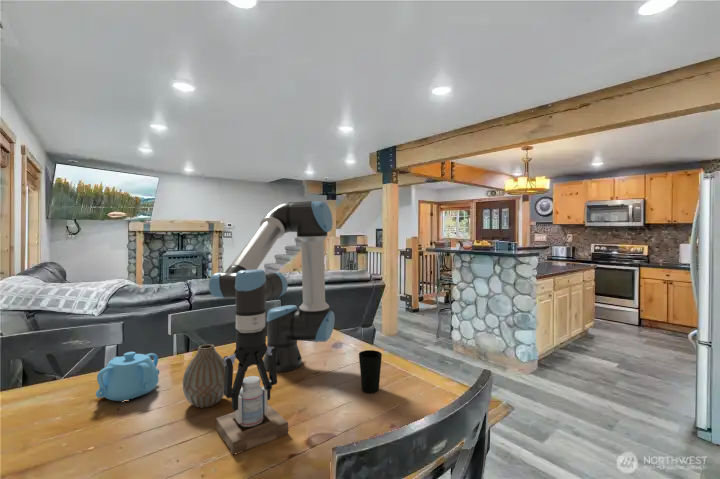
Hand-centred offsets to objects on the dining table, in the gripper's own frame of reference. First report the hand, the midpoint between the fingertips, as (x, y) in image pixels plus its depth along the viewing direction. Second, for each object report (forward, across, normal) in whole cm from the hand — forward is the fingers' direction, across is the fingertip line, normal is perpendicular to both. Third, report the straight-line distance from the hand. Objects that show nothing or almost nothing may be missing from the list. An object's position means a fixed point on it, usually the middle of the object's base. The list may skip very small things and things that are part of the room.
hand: (251, 416), depth 89 cm
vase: (+4, -5, +24) cm, 25 cm away
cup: (+4, +40, -1) cm, 40 cm away
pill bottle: (+2, 0, 0) cm, 2 cm away
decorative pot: (+4, -23, +46) cm, 52 cm away
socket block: (+4, 0, 0) cm, 4 cm away
